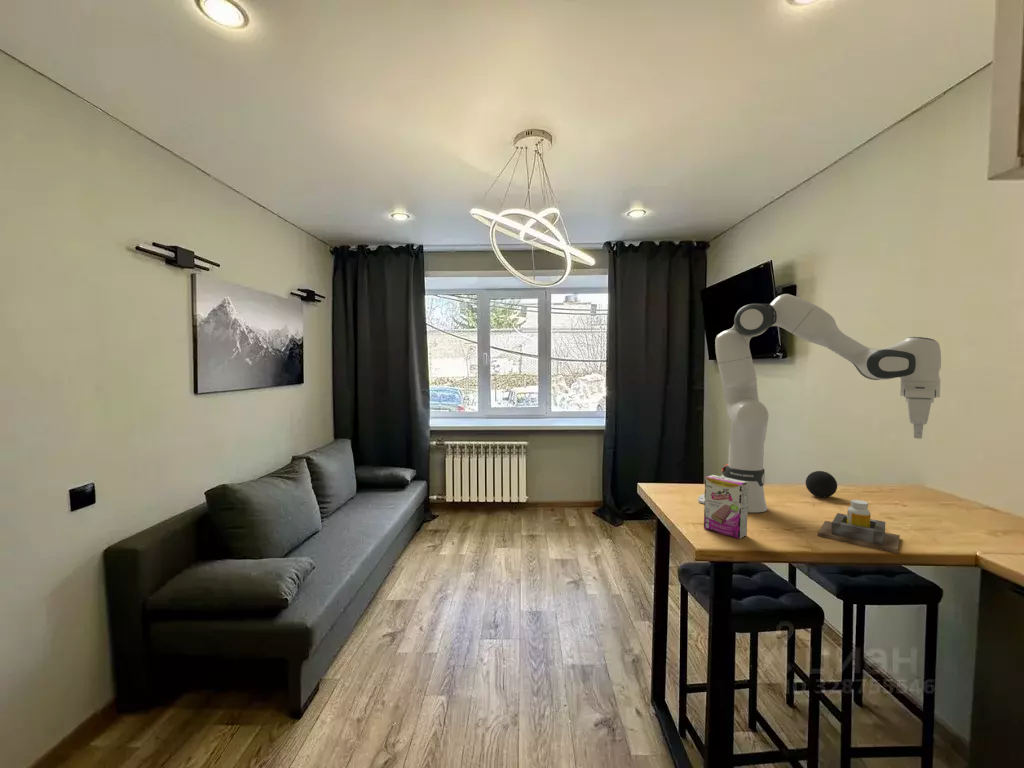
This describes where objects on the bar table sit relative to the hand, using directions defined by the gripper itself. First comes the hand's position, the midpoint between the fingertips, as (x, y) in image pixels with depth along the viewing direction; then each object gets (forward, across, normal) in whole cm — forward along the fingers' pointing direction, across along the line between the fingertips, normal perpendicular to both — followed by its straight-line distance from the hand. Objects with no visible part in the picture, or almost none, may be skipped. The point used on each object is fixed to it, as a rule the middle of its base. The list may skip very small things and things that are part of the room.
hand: (918, 436), depth 135 cm
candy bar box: (+29, +41, -42) cm, 66 cm away
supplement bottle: (+28, +18, -12) cm, 36 cm away
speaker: (+29, -23, -27) cm, 46 cm away
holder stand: (+29, +18, -12) cm, 36 cm away
